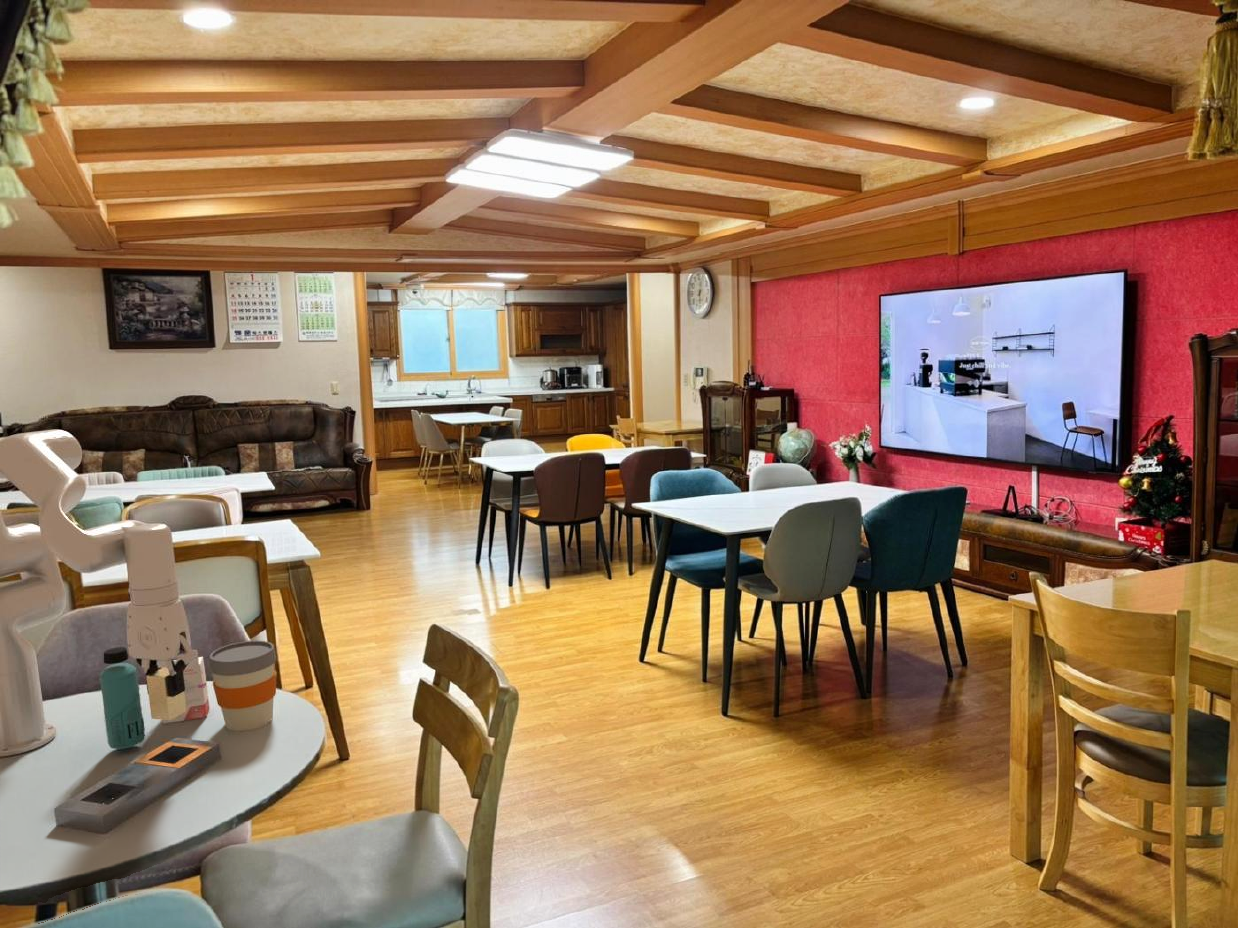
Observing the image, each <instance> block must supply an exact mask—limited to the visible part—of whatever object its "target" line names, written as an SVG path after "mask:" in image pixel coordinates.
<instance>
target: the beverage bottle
mask: <svg viewBox="0 0 1238 928" xmlns="http://www.w3.org/2000/svg"><path fill="white" fill-rule="evenodd" d="M128 659H129V652H128V648H127V647H123V646H118V647H112V648H108V649H107V650H105V651H103V663H104V664H106V665H108V666H106V667H105V668H104V669H103V670H102V671H101V672H100V673H99V682H100V687H101V688H100V689H101V696H102V704H103V714H104V715H103V716H104V717H103V718H104V723H105V730H106V732H105V734H106V735H105V736H106V738H107V739H106V741H107V744H108V745H109V748H111V749H114V750H115V749H116V750H118V749H119V750H120V749H127V748H132V747H134V746H137V745H139V744H141V743H142V742H143V741H144V740H145V736H146V734H145V731H146V729H145V719H144V715H143V707H142V705H141V703H142V702H141V693H140V690H141V689H140V684H139V680H138V673H137V667H136V666H134V665H132V664H130V663H128V662H125V661H127V660H128Z"/></svg>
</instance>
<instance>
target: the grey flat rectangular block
mask: <svg viewBox="0 0 1238 928" xmlns="http://www.w3.org/2000/svg"><path fill="white" fill-rule="evenodd" d="M221 759H222V753H221V743H220V742H216V741H215V742H213V741H208V740H207V741H206V740H198V739H190V738H181V737H175V738H173V739H171V740H169V741H167V742H165V743H164V744H161V745H160V746H158V747H156V748H154V750H152V751H150V752H148V753H146V754H145V755H143V756H140V757H139V758H138V759H136V760H134V761H133V762H132V763H129V764H128V765H127V766H125V767H122V768H121V769H119V770H117V771H116V772H114V773H113V774H111V775H109V776H107V777H106V778H104V779H102V780H101V781H99V782H97V783H95V784H94V785H92V786H90V787H88V788H87V789H85V790H83V791H81V792H80V793H78V794H77V795H75V796H73V797H71V798H69V799H68V800H66V801H64V802H63V803H61V804H59V805H58V806H56V807H54V809H53V811H54V817H55V824H56V825H55V826H57V827H63V828H68V829H74V830H81V831H85V832H86V831H87V832H92V833H93V832H94V833H99V834H103V835H104V834H107V833H108V832H110V831H111V830H113V829H114V828H116V827H117V826H119V825H120V824H122V823H123V822H125V821H127V820H128V819H129V818H131V817H134V816H135V815H136V814H138V813H140V812H141V811H142V810H143V809H145V808H147V807H148V806H149V805H152V804H153V803H155V802H156V801H158V800H159V799H160V798H162V797H164V796H166V795H167V794H168V793H170V792H172V791H173V790H175V789H176V788H177V787H179V786H180V785H182V784H184V783H185V782H187V781H188V780H190V779H192V777H195V776H196V775H198V774H199V773H201V772H203V771H204V770H205V769H207V768H209V767H210V766H211V765H214V764H215V763H216V762H218V761H219V760H221ZM174 762H175V763H174ZM163 795H164V796H163ZM112 798H113V799H112ZM110 799H111V800H113V802H111V803H109V804H106V803H108V802H109V800H110ZM115 799H117V800H115ZM111 800H110V801H111ZM107 801H108V802H107ZM103 803H105V804H103Z"/></svg>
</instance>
